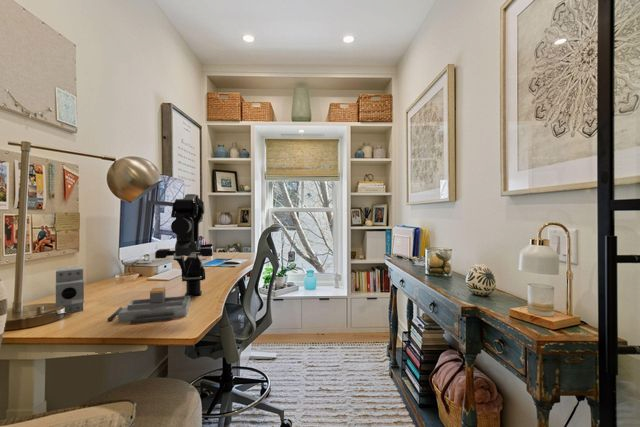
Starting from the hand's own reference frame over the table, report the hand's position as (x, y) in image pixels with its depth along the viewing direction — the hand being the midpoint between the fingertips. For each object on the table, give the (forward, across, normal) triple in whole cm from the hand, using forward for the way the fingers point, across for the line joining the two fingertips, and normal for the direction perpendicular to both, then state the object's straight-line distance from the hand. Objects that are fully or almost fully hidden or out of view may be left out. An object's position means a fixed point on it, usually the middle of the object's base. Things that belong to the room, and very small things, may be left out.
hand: (185, 276), depth 113 cm
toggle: (+9, -9, 0) cm, 13 cm away
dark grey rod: (+12, -22, 0) cm, 25 cm away
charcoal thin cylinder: (+12, -9, -10) cm, 18 cm away
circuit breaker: (+12, -39, +10) cm, 42 cm away
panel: (+12, -9, 0) cm, 15 cm away
